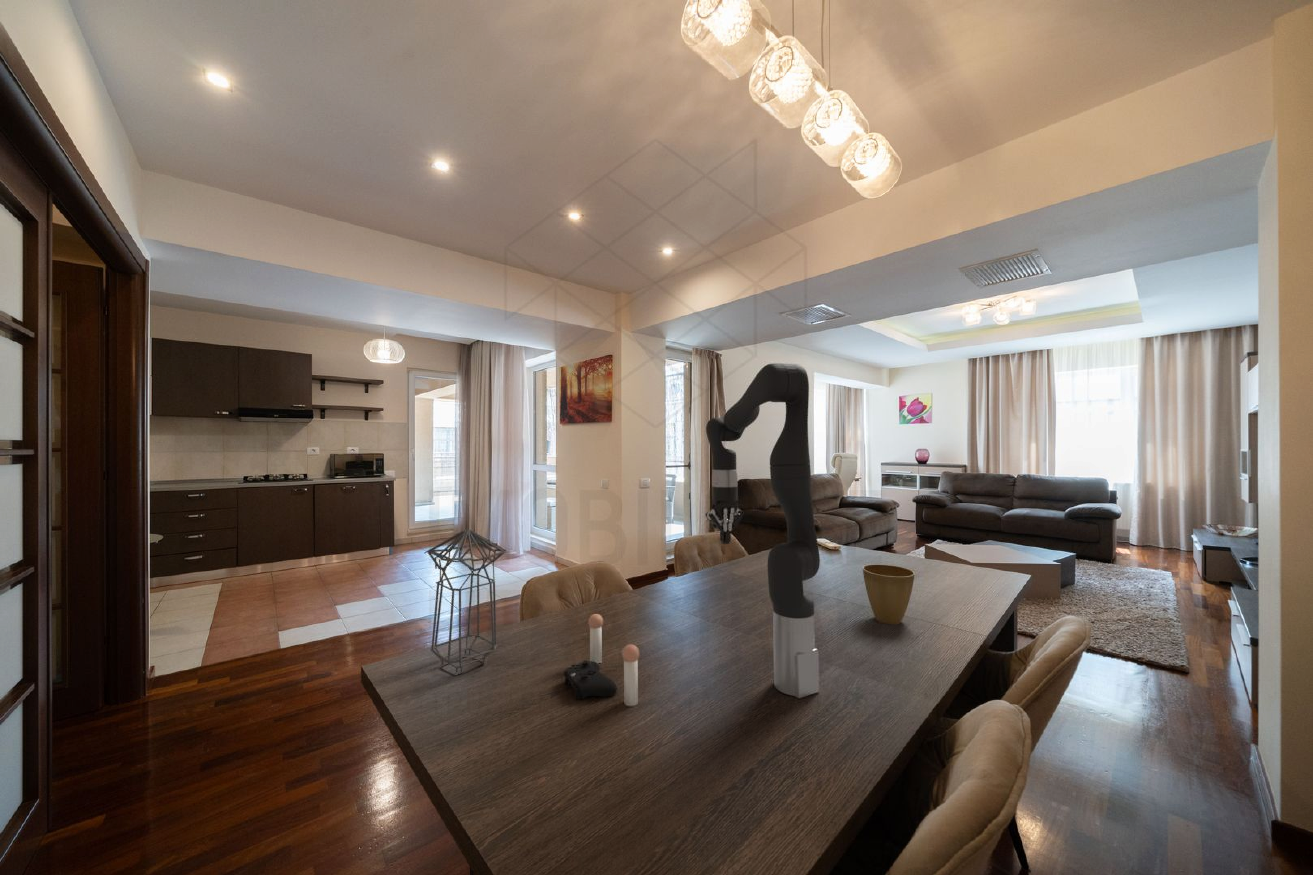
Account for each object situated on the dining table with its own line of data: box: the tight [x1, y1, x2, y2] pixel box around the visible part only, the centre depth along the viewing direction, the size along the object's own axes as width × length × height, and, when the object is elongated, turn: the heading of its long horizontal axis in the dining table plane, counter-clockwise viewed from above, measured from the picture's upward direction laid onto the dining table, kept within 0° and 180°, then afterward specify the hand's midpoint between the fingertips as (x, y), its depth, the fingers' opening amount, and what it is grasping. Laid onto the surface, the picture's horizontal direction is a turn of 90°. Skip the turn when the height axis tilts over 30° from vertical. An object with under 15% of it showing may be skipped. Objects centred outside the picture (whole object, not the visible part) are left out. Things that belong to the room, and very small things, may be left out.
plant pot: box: [862, 563, 916, 625], centre depth 151 cm, size 15×15×16 cm
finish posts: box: [588, 613, 640, 707], centre depth 114 cm, size 26×4×12 cm, turn 27°
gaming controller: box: [563, 660, 618, 700], centre depth 111 cm, size 14×6×10 cm
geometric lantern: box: [424, 529, 508, 673], centre depth 122 cm, size 16×16×35 cm
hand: (725, 543), depth 141 cm, fingers closed
